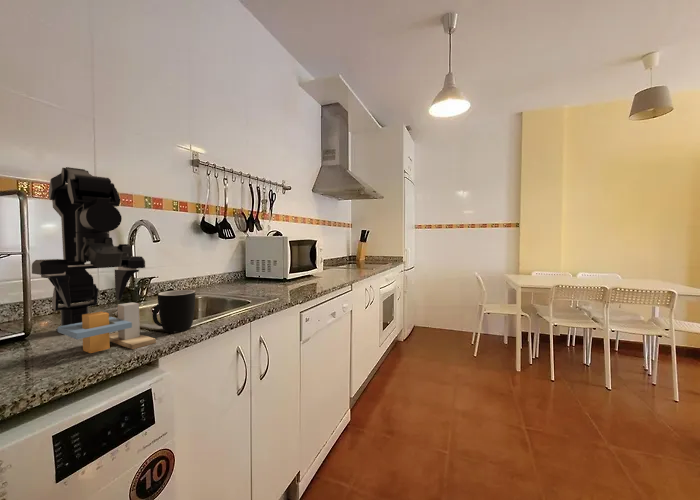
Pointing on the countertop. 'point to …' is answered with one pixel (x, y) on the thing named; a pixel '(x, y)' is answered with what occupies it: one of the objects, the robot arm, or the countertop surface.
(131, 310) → the bracket
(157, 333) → the countertop surface
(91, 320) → the orange square post
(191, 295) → the mug
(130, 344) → the board
